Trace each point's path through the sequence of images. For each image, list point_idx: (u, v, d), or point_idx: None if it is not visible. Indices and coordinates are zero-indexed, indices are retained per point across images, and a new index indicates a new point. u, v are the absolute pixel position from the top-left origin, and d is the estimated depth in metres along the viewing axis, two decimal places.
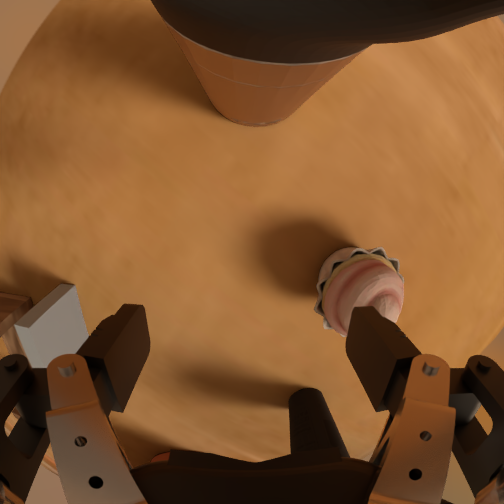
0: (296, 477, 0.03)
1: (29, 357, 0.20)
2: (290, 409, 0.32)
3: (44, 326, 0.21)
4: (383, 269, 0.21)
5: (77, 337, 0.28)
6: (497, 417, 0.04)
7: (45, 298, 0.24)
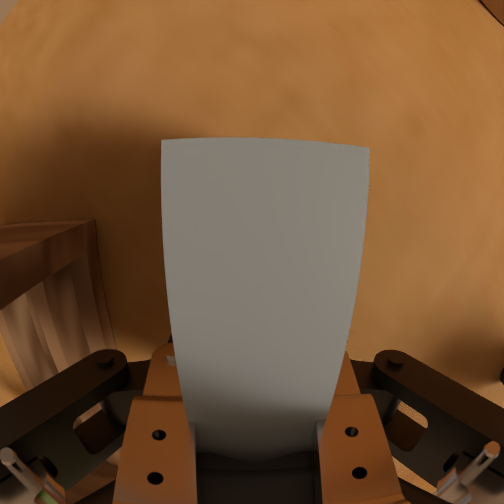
0: (296, 477, 0.03)
1: (208, 411, 0.04)
2: None
3: None
4: None
5: None
6: (429, 412, 0.05)
7: None
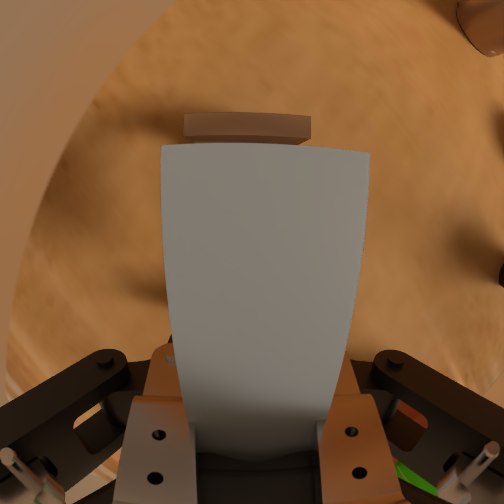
0: (296, 477, 0.03)
1: (208, 413, 0.04)
2: None
3: None
4: None
5: None
6: (429, 412, 0.05)
7: None
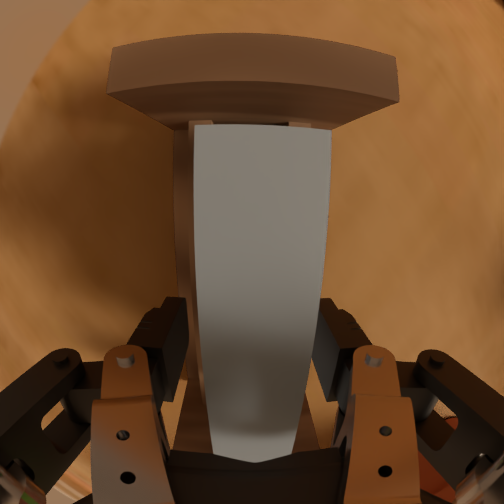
0: (296, 477, 0.03)
1: (218, 332, 0.06)
2: None
3: None
4: None
5: None
6: (461, 411, 0.04)
7: None
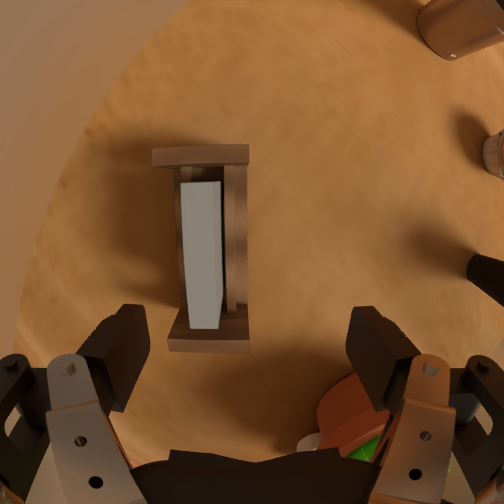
0: (296, 477, 0.03)
1: (187, 235, 0.21)
2: (475, 269, 0.33)
3: (215, 196, 0.23)
4: None
5: None
6: (497, 417, 0.04)
7: None
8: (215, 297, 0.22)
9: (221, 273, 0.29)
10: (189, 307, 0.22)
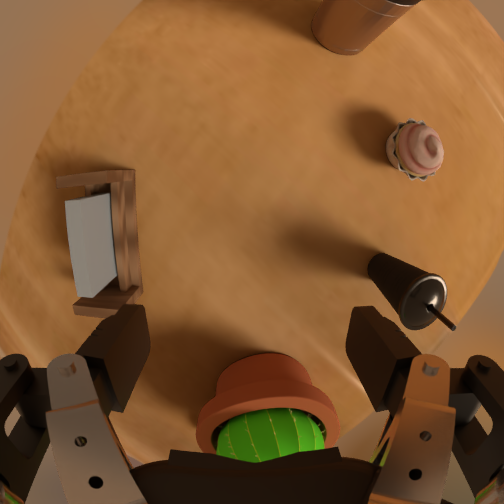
0: (296, 477, 0.03)
1: (70, 234, 0.28)
2: (373, 268, 0.40)
3: (90, 207, 0.29)
4: (428, 126, 0.29)
5: (110, 235, 0.35)
6: (497, 417, 0.04)
7: (90, 195, 0.32)
8: (88, 275, 0.29)
9: (111, 260, 0.36)
10: (75, 281, 0.29)
